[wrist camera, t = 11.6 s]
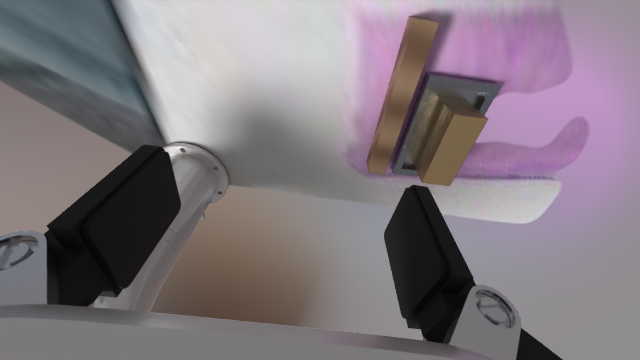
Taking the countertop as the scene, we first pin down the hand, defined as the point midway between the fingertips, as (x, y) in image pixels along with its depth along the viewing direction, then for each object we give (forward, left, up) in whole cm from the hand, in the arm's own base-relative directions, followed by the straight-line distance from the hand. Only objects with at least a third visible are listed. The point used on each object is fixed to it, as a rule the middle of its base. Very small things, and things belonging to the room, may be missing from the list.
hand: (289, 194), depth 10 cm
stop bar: (-8, -18, -26) cm, 32 cm away
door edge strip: (-5, -11, -26) cm, 29 cm away
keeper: (-8, -18, -26) cm, 33 cm away
